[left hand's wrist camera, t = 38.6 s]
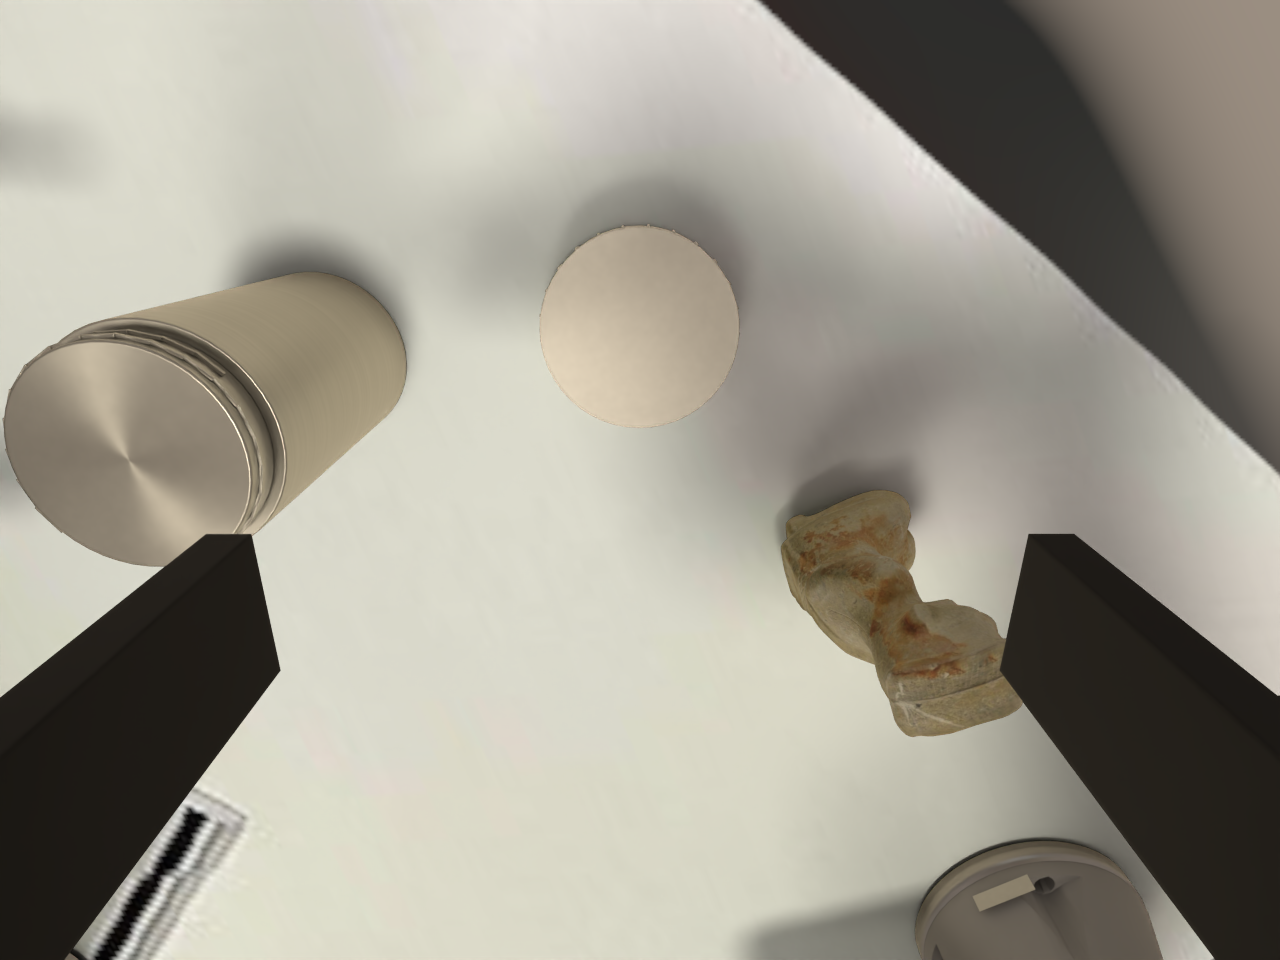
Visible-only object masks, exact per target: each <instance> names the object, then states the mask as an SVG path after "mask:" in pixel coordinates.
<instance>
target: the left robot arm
mask: <svg viewBox="0 0 1280 960" xmlns="http://www.w3.org/2000/svg"><path fill="white" fill-rule="evenodd" d="M279 672H280V666H279V661H278V656H277V652H276V647H275V642H274V638H273V633H272V628H271V624H270V619H269V614H268V610H267V605H266V600H265V596H264V591H263V586H262V582H261V577H260V572H259V568H258V563H257V558H256V554H255V549H254V544H253V540H252V535H251V534H205V535H204V536H203V537H202V538H200V539H199V540H198V541H197V542H195V543H194V544H193V545H191V546H190V547H189V548H188V549H186V550H185V551H184V552H183V553H181V554H180V555H179V556H178V557H176V558H175V559H174V560H173V561H171V562H170V563H169V564H168V565H166V566H165V567H164V568H163V569H161V570H160V571H159V572H158V573H156V574H155V575H154V576H153V577H151V578H150V579H149V580H147V581H146V582H145V583H144V584H142V585H141V586H140V587H139V588H137V589H136V590H135V591H134V592H132V593H131V594H130V595H129V596H127V597H126V598H125V599H124V600H122V601H121V602H120V603H119V604H117V605H116V606H115V607H114V608H112V609H111V610H110V611H109V612H107V613H106V614H105V615H103V616H102V617H101V618H100V619H98V620H97V621H96V622H95V623H93V624H92V625H91V626H90V627H88V628H87V629H86V630H85V631H83V632H82V633H81V634H80V635H78V636H77V637H76V638H75V639H73V640H72V641H71V642H70V643H68V644H67V645H66V646H65V647H63V648H62V649H61V650H59V651H58V652H57V653H56V654H54V655H53V656H52V657H51V658H49V659H48V660H47V661H46V662H44V663H43V664H42V665H41V666H39V667H38V668H37V669H36V670H34V671H33V672H32V673H31V674H29V675H28V676H27V677H26V678H24V679H23V680H22V681H20V682H19V683H18V684H17V685H15V686H14V687H13V688H12V689H10V690H9V691H8V692H7V693H5V694H4V695H3V696H2V697H0V960H65V958H66V957H67V956H68V954H69V953H70V952H71V950H72V949H73V948H74V946H75V945H76V944H77V942H78V941H79V940H80V938H81V937H82V936H83V934H84V933H85V932H86V930H87V929H88V928H89V926H90V925H91V924H92V922H93V921H94V920H95V918H96V917H97V916H98V914H99V913H100V912H101V910H102V909H103V908H104V906H105V905H106V904H107V902H108V901H109V900H110V898H111V897H112V896H113V894H114V893H115V892H116V890H117V889H118V887H119V886H120V885H121V883H122V882H123V881H124V879H125V878H126V877H127V875H128V874H129V873H130V871H131V870H132V869H133V867H134V866H135V865H136V863H137V862H138V861H139V859H140V858H141V857H142V855H143V854H144V853H145V851H146V850H147V849H148V847H149V846H150V845H151V843H152V842H153V841H154V839H155V838H156V837H157V835H158V834H159V833H160V831H161V830H162V829H163V827H164V826H165V825H166V823H167V822H168V820H169V819H170V818H171V816H172V815H173V814H174V812H175V811H176V810H177V808H178V807H179V806H180V804H181V803H182V802H183V800H184V799H185V798H186V796H187V795H188V794H189V792H190V791H191V790H192V788H193V787H194V786H195V784H196V783H197V782H198V780H199V779H200V778H201V776H202V775H203V774H204V772H205V771H206V770H207V768H208V767H209V766H210V764H211V763H212V762H213V760H214V759H215V758H216V756H217V755H218V753H219V752H220V751H221V749H222V748H223V747H224V745H225V744H226V743H227V741H228V740H229V739H230V737H231V736H232V735H233V733H234V732H235V731H236V729H237V728H238V727H239V725H240V724H241V723H242V721H243V720H244V719H245V717H246V716H247V715H248V713H249V712H250V711H251V709H252V708H253V707H254V705H255V704H256V703H257V701H258V700H259V699H260V697H261V696H262V695H263V693H264V692H265V691H266V689H267V688H268V687H269V685H270V684H271V682H272V681H273V680H274V678H275V677H276V676H277V674H278V673H279ZM1000 672H1001V673H1002V674H1003V676H1004V677H1005V678H1006V680H1007V681H1008V682H1009V684H1010V685H1011V687H1012V688H1013V689H1014V691H1015V692H1016V693H1017V695H1018V696H1019V697H1020V699H1021V700H1022V701H1023V703H1024V704H1025V705H1026V707H1027V708H1028V709H1029V711H1030V712H1031V713H1032V715H1033V716H1034V717H1035V719H1036V720H1037V721H1038V723H1039V724H1040V725H1041V727H1042V728H1043V729H1044V731H1045V732H1046V733H1047V735H1048V736H1049V737H1050V739H1051V740H1052V741H1053V743H1054V744H1055V745H1056V747H1057V748H1058V749H1059V751H1060V752H1061V754H1062V755H1063V756H1064V758H1065V759H1066V760H1067V762H1068V763H1069V764H1070V766H1071V767H1072V768H1073V770H1074V771H1075V772H1076V774H1077V775H1078V776H1079V778H1080V779H1081V780H1082V782H1083V783H1084V784H1085V786H1086V787H1087V788H1088V790H1089V791H1090V792H1091V794H1092V795H1093V796H1094V798H1095V799H1096V800H1097V802H1098V803H1099V804H1100V806H1101V807H1102V808H1103V810H1104V811H1105V812H1106V814H1107V815H1108V816H1109V818H1110V819H1111V820H1112V822H1113V823H1114V825H1115V826H1116V827H1117V829H1118V830H1119V831H1120V833H1121V834H1122V835H1123V837H1124V838H1125V839H1126V841H1127V842H1128V843H1129V845H1130V846H1131V847H1132V849H1133V850H1134V851H1135V853H1136V854H1137V855H1138V857H1139V858H1140V859H1141V861H1142V862H1143V863H1144V865H1145V866H1146V867H1147V869H1148V870H1149V871H1150V873H1151V874H1152V875H1153V877H1154V878H1155V879H1156V881H1157V882H1158V883H1159V885H1160V886H1161V887H1162V889H1163V890H1164V892H1165V893H1166V894H1167V896H1168V897H1169V898H1170V900H1171V901H1172V902H1173V904H1174V905H1175V906H1176V908H1177V909H1178V910H1179V912H1180V913H1181V914H1182V916H1183V917H1184V918H1185V920H1186V921H1187V922H1188V924H1189V925H1190V926H1191V928H1192V929H1193V930H1194V932H1195V933H1196V934H1197V936H1198V937H1199V938H1200V940H1201V941H1202V942H1203V944H1204V945H1205V946H1206V948H1207V949H1208V950H1209V952H1210V953H1211V954H1212V956H1213V957H1214V958H1215V960H1280V696H1277V695H1276V694H1275V693H1273V692H1272V691H1271V690H1270V689H1268V688H1267V687H1266V686H1265V685H1263V684H1262V683H1261V682H1260V681H1258V680H1257V679H1256V678H1254V677H1253V676H1252V675H1251V674H1249V673H1248V672H1247V671H1246V670H1244V669H1243V668H1242V667H1241V666H1239V665H1238V664H1237V663H1236V662H1234V661H1233V660H1232V659H1231V658H1229V657H1228V656H1227V655H1226V654H1224V653H1223V652H1222V651H1221V650H1219V649H1218V648H1217V647H1215V646H1214V645H1213V644H1212V643H1210V642H1209V641H1208V640H1207V639H1205V638H1204V637H1203V636H1202V635H1200V634H1199V633H1198V632H1197V631H1195V630H1194V629H1193V628H1192V627H1190V626H1189V625H1188V624H1187V623H1185V622H1184V621H1183V620H1182V619H1180V618H1179V617H1178V616H1177V615H1175V614H1174V613H1173V612H1171V611H1170V610H1169V609H1168V608H1166V607H1165V606H1164V605H1163V604H1161V603H1160V602H1159V601H1158V600H1156V599H1155V598H1154V597H1153V596H1151V595H1150V594H1149V593H1148V592H1146V591H1145V590H1144V589H1143V588H1141V587H1140V586H1139V585H1138V584H1136V583H1135V582H1134V581H1133V580H1131V579H1130V578H1129V577H1127V576H1126V575H1125V574H1124V573H1122V572H1121V571H1120V570H1119V569H1117V568H1116V567H1115V566H1114V565H1112V564H1111V563H1110V562H1109V561H1107V560H1106V559H1105V558H1104V557H1102V556H1101V555H1100V554H1099V553H1097V552H1096V551H1095V550H1094V549H1092V548H1091V547H1090V546H1089V545H1087V544H1086V543H1085V542H1083V541H1082V540H1081V539H1080V538H1078V537H1077V536H1076V535H1075V534H1029V535H1028V540H1027V544H1026V549H1025V554H1024V558H1023V563H1022V568H1021V572H1020V577H1019V582H1018V586H1017V591H1016V596H1015V600H1014V605H1013V610H1012V614H1011V619H1010V624H1009V628H1008V633H1007V638H1006V642H1005V647H1004V652H1003V656H1002V661H1001V666H1000ZM915 937H916V943H917V947H918V950H919V953H920V956H921V958H922V960H1163V958H1162V955H1161V951H1160V948H1159V945H1158V942H1157V939H1156V936H1155V932H1154V929H1153V926H1152V923H1151V920H1150V917H1149V914H1148V912H1147V910H1146V908H1145V905H1144V903H1143V900H1142V898H1141V897H1140V895H1139V894H1138V892H1137V891H1136V889H1135V888H1134V886H1133V885H1132V884H1131V882H1130V881H1129V879H1128V878H1127V876H1126V875H1125V874H1124V872H1123V871H1122V870H1121V869H1120V868H1119V867H1118V866H1117V865H1116V864H1115V863H1114V862H1113V861H1112V860H1110V859H1109V858H1107V857H1106V856H1104V855H1102V854H1101V853H1099V852H1097V851H1094V850H1092V849H1090V848H1087V847H1084V846H1080V845H1076V844H1072V843H1066V842H1057V841H1033V842H1023V843H1017V844H1012V845H1008V846H1003V847H1000V848H997V849H993V850H991V851H988V852H985V853H983V854H980V855H978V856H976V857H974V858H972V859H970V860H968V861H966V862H965V863H963V864H961V865H960V866H958V867H957V868H955V869H954V870H952V871H951V872H950V873H948V874H947V875H946V876H945V877H944V878H943V879H942V880H940V881H939V882H938V883H937V884H936V886H935V887H934V888H933V889H932V890H931V891H930V893H929V894H928V895H927V897H926V899H925V900H924V902H923V904H922V906H921V908H920V910H919V913H918V916H917V920H916V926H915Z"/></svg>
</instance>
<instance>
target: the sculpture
mask: <svg viewBox="0 0 1280 960" xmlns="http://www.w3.org/2000/svg"><path fill="white" fill-rule="evenodd" d="M910 518H911V514H910V509H909V505H908V502H907V501H906V500H905V499H904V498H903V497H902V496H901V495H900V494H898V493H895V492H892V491H886V490H874V491H869V492H865V493H862V494H859V495H856V496H853V497H851V498H849V499H846V500H844V501H842V502H839V503H837V504H835V505H833V506H831V507H829V508H827V509H825V510H823V511H821V512H819V513H817V514H815V515H812V516H807V517H806V516H805V515H797V516H795V517H793V518H791V519H790V520H788V522H787V523H786V535H787V540H785V541H784V543H783V544H782V546H781V553H782V559H783V565H784V570H785V574H786V577H787V581H788V584H789V588H790V591H791V593H792V595H793V596H794V597H795V598H796V601H797V602H798V603H799V604H800V606H801V608H802V609H803V610H805V611H807V612H808V613H809V614H810V615H811V616H812V617H813V619H814V621H815V622H816V624H817V625H818V627H819V628H820V629H821V630H822V631H823V632H824V633H825V634H826V635H827V636H828V637H829V638H830V639H831V640H832V641H833V642H834V643H835V644H836V645H837V646H838V647H839V648H841V649H842V650H843V651H844V652H846V653H847V654H849V655H851V656H854V657H856V658H859V659H861V660H864V661H866V662H869V663H872V664H874V665H875V667H876V671H877V676H878V678H879V681H880V684H881V687H882V689H883V691H884V692H885V694H886V696H887V697H888V698H889V701H890V705H891V708H892V712H893V716H894V719H895V722H896V723H897V725H898V727H899V728H900V729H901V730H902V731H903V732H904V733H905V734H906V735H908V736H911V737H915V736H938V735H944V734H950V733H954V732H957V731H960V730H963V729H966V728H969V727H972V726H975V725H979V724H982V723H985V722H989V721H992V720H996V719H1000V718H1003V717H1005V716H1008V715H1010V714H1011V713H1013V712H1015V711H1016V710H1018V709H1019V708H1020V707H1021V705H1022V703H1023V701H1022V700H1021V699H1020V697H1019V696H1018V695H1017V693H1016V692H1015V691H1014V689H1013V688H1012V687H1011V685H1010V684H1009V682H1008V681H1007V680H1006V678H1005V677H1004V676H1003V674H1002V673H1001V672H1000V666H1001V661H1002V656H1003V652H1004V647H1005V642H1006V639H1003V638H1002V637H1001V636H1000V635H999V634H998V630H997V626H996V623H995V621H994V620H993V619H992V618H991V617H990V616H988V615H986V614H984V613H982V612H979V611H978V610H976V609H973V608H971V607H968V606H961V605H957V604H956V603H955V602H953V601H952V600H949V599H945V600H938V601H933V602H922V600H921V598H920V597H919V595H918V592H917V590H916V587H915V584H914V581H913V578H912V576H911V574H910V573H909V569H910V568H911V566H912V565H913V562H914V559H915V542H914V538H913V536H912V535H911V533H910V532H909V531H908V530H907V529H908V525H909V521H910Z"/></svg>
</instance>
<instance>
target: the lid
mask: <svg viewBox="0 0 1280 960" xmlns="http://www.w3.org/2000/svg"><path fill="white" fill-rule="evenodd" d="M698 245H699V244H698V243H697V242H696V241H695V242H692V241H691V240H689V239H687V238H686V237H684V236H682V235H680V234H678V233H675V230H672V231H670V230H667V229H663V228H658V227H654V226H650V224H647V226H642V225H639V226H626V227H624V225H622V226H621V228H616V229H612V230H610V231H607V232H604V233H601V234H600V232H599V233H597V236H595V237H594V238H592V239H590V240H588V241H587V242H586V243H584V244H583V245H581V246H580V247H579V246H577V247H576V248H575V251H574V252H573V253H572V254H571V255H570V256H569V257H568V258H567V259H566V260H565V262H564V263H563V264H562V265H559V266H558V268H557V269H558V270H557V272H556V274H555V275H554V277H553V279H552V280H551V282H550V285H549V287H548V288H547V289H546V290H545V292H546V294H545V297H544V301H543V304H542V309H541V314H540V338H541V339H540V342H541V346H542V350H543V354H544V358H545V361H546V363H547V366H548V369H549V371H550V372H551V374H552V376H553V378H554V380H555V382H556V383H557V384H558V386H559V387H560V389H561V390H562V391H563V392H564V393H565V395H566V396H567V397H568V398H569V399H570V400H571V401H572V402H573V403H575V404H576V405H577V406H578V407H579V408H581V409H582V410H584V411H585V412H587V413H588V414H590V415H592V416H594V417H596V418H598V419H600V420H602V421H605V422H608V423H611V424H614V425H619V426H624V427H634V428H645V427H655V426H660V425H665V424H668V423H671V422H674V421H677V420H679V419H681V418H683V417H686V416H687V415H689V414H691V413H692V412H694V411H696V410H697V409H698V408H700V407H701V406H702V405H703V404H705V403H706V402H707V401H708V400H709V399H710V398H711V397H712V396H713V395H714V394H715V393H716V391H717V390H718V389H719V387H720V386H721V385H722V383H723V382H724V380H725V378H726V376H727V375H728V373H729V371H730V369H731V366H732V364H733V361H734V359H735V355H736V351H737V347H738V340H739V334H740V332H739V315H738V309H739V308H738V306H737V304H736V300H735V297H734V294H733V291H732V289H731V286H730V285H731V283H730V282H729V281H728V280H727V278H726V277H725V275H724V273H723V272H722V270H721V269H720V268H719V266H718V265H717V264H716V263H718V262H717V261H716V260H715V259H712V258H711V257H710V256H709V255H708V254H707V253H706V252H705V251H704V250H703V249H702V248H700V247H699V246H698Z"/></svg>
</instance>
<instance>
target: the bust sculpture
mask: <svg viewBox="0 0 1280 960" xmlns="http://www.w3.org/2000/svg"><path fill="white" fill-rule="evenodd" d="M65 960H79V959H77V958H76V957H75V956H73V955H72V954H70V953H69V954H68V956H67V957H66V958H65Z"/></svg>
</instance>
